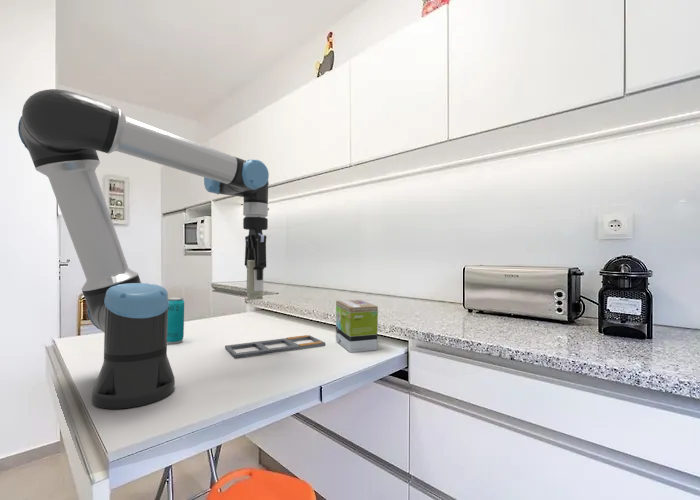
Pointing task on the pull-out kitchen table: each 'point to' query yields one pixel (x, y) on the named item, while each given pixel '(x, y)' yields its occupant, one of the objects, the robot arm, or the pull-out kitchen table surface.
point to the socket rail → (265, 350)
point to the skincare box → (252, 282)
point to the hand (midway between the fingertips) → (254, 289)
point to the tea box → (356, 325)
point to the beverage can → (175, 320)
